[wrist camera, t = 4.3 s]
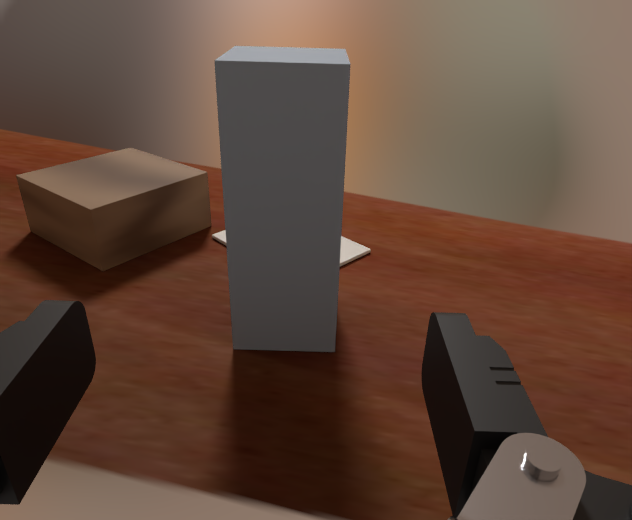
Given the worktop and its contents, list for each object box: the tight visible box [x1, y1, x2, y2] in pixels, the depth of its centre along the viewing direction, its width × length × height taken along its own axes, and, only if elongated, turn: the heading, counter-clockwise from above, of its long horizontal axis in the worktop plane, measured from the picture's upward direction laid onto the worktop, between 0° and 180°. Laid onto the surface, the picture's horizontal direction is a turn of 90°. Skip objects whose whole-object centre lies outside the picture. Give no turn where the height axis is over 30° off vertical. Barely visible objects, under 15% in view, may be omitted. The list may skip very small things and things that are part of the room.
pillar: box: [215, 46, 350, 352], centre depth 22 cm, size 4×4×12 cm
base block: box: [16, 148, 211, 271], centre depth 33 cm, size 8×8×4 cm
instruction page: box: [212, 230, 371, 266], centre depth 32 cm, size 6×8×1 cm
